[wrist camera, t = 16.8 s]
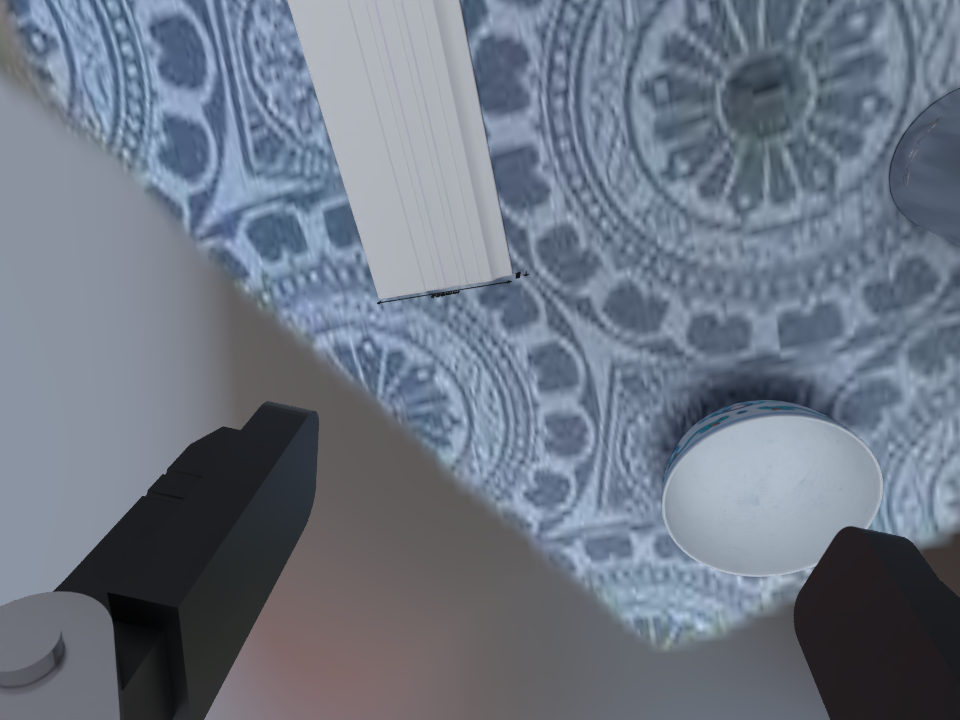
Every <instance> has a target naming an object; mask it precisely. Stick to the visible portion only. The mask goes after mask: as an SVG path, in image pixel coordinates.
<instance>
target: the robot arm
mask: <svg viewBox="0 0 960 720" xmlns="http://www.w3.org/2000/svg"><path fill="white" fill-rule="evenodd" d="M890 186H891V193H892V196H893V199H894V201H895V204H896V206H897V207H898V208H899V210H900V211H901V212H902V214H903V215H904V216H906V217H907V218H908V219H909V220H911V221H912V222H913V223H915V224H917V225H919V226H921V227H923V228H925V229H927V230H929V231H931V232H934V233H936V234H938V235H940V236H942V237H944V238H946V239H947V240H949V241H951V242H953V243H955V244H957V245H959V246H960V89H958V90H956V91H953V92H951V93H949V94H948V95H946V96H945V97H943V98H941V99H940V100H938V101H937V102H935V103H934V104H933V105H931V106H930V107H929V108H928V109H927V110H926V111H925V112H923V113H922V114H921V115H920V116H919V117H918V118H917V119H916V121H915V122H914V123H913V124H912V125H911V127H910V128H909V129H908V130H907V132H906V133H905V135H904V137H903V138H902V140H901V142H900V144H899V145H898V147H897V150H896V153H895V155H894V158H893V161H892V166H891V172H890ZM318 431H319V418H318V414H317V412H316V411H312V410H307V409H303V408H297V407H293V406H288V405H283V404H279V403H274V402H269V401H267V402H265V403H264V404H262V405H261V407H260V408H259V409H258V410H257V411H256V412H255V414H254V415H253V416H252V417H251V419H250V420H249V421H248V422H247V423H246V425H245V426H244V427H243V428H242V429H241V430H237V429H232V428H227V427H221V428H219V429H218V430H216V431H214V432H212V433H210V434H209V435H207V436H205V437H203V438H201V439H199V440H197V441H196V442H194V443H192V444H190V445H189V446H188V447H187V448H186V449H185V451H184V452H183V453H182V454H181V455H180V456H179V457H178V458H177V459H176V460H175V461H174V462H173V464H172V465H171V466H170V467H169V468H168V469H167V473H166V474H165V475H164V474H162V476H160V478H159V479H158V480H157V481H156V482H155V483H154V484H153V485H152V486H151V487H150V488H149V489H148V492H147V495H146V496H142V497H141V498H140V499H139V500H138V501H137V503H136V504H135V505H134V506H133V507H132V508H131V509H130V510H129V511H128V512H127V513H126V514H125V515H124V516H123V518H122V519H121V520H120V521H119V522H118V523H117V524H116V525H115V526H114V527H113V528H112V529H111V531H110V532H109V533H108V534H107V535H106V536H105V537H104V538H103V539H102V540H101V541H100V542H99V544H98V545H97V546H96V547H95V548H94V549H93V550H92V551H91V552H90V553H89V554H88V555H87V556H86V558H85V559H84V560H83V561H82V562H81V563H80V564H79V565H78V566H77V568H75V569H74V570H73V572H72V573H71V574H70V575H69V576H68V577H67V578H66V579H65V580H64V581H63V582H62V583H61V584H60V585H59V586H58V587H57V588H56V589H55V590H54V591H53V592H47V593H40V594H36V595H31V596H27V597H24V598H21V599H18V600H15V601H12V602H10V603H8V604H5V605H3V606H0V720H204V719H205V717H206V714H207V713H208V711H209V709H210V707H211V705H212V703H213V701H214V699H215V698H216V696H217V694H218V692H219V690H220V688H221V686H222V684H223V682H224V681H225V679H226V677H227V675H228V673H229V671H230V669H231V667H232V665H233V663H234V661H235V660H236V658H237V656H238V654H239V652H240V650H241V648H242V646H243V644H244V642H245V641H246V639H247V637H248V635H249V633H250V631H251V629H252V627H253V625H254V623H255V622H256V620H257V618H258V616H259V614H260V612H261V610H262V608H263V606H264V604H265V603H266V601H267V599H268V597H269V595H270V593H271V591H272V589H273V587H274V585H275V584H276V582H277V580H278V578H279V576H280V574H281V572H282V570H283V568H284V567H285V565H286V563H287V560H288V559H289V557H290V555H291V553H292V551H293V549H294V548H295V546H296V544H297V541H298V540H299V538H300V536H301V534H302V532H303V530H304V528H305V526H306V524H307V522H308V518H309V516H310V513H311V509H312V506H313V502H314V497H315V491H316V473H317V452H318ZM794 627H795V632H796V635H797V638H798V641H799V644H800V646H801V648H802V651H803V653H804V656H805V658H806V661H807V663H808V666H809V668H810V671H811V673H812V676H813V678H814V681H815V683H816V685H817V688H818V690H819V693H820V695H821V698H822V700H823V703H824V705H825V708H826V710H827V713H828V715H829V718H830V720H960V598H959V597H958V596H957V595H956V594H955V593H954V592H953V591H952V590H950V589H949V588H948V587H947V586H946V585H945V584H944V583H943V582H942V581H940V580H939V578H938V577H937V576H936V574H935V573H934V571H933V570H932V569H931V567H930V566H929V564H928V563H927V562H926V561H925V559H924V557H923V556H922V555H921V553H920V552H919V550H918V549H917V548H916V546H915V545H914V544H913V543H912V542H911V541H910V540H908V539H906V538H905V537H901V536H896V535H892V534H887V533H882V532H878V531H873V530H868V529H863V528H859V527H854V526H847V527H844V528H843V529H841V530H840V531H839V532H838V533H837V534H836V535H835V537H834V538H833V540H832V542H831V543H830V545H829V546H828V548H827V549H826V551H825V553H824V554H823V556H822V557H821V559H820V560H819V562H818V564H817V565H816V567H815V568H814V570H813V571H812V573H811V575H810V576H809V578H808V579H807V581H806V583H805V584H804V586H803V587H802V589H801V590H800V592H799V594H798V596H797V599H796V602H795V607H794Z"/></svg>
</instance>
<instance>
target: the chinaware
mask: <svg viewBox="0 0 960 720" xmlns="http://www.w3.org/2000/svg"><path fill="white" fill-rule="evenodd" d="M882 495H883V478H882V472H881V469H880V466H879V464H878V461H877V459H876V457H875V456H874V454H873V453H872V451H871V450H870V449H869V447H868V446H867V445H866V444H865V443H864V442H863V441H862V440H861V439H860V438H859V437H858V436H856V435H855V434H854V433H853V432H851V431H850V430H849V429H847V428H846V427H845V426H843V425H841V424H840V423H838V422H837V421H835V420H833V419H832V418H830V417H828V416H826V415H824V414H822V413H820V412H818V411H815V410H813V409H810V408H807V407H804V406H801V405H798V404H794V403H789V402H783V401H775V400H755V401H747V402H741V403H737V404H733V405H730V406H727V407H724V408H721V409H719V410H717V411H715V412H713V413H711V414H709V415H708V416H706V417H704V418H703V419H701V420H700V421H699V422H697V423H696V424H695V425H694V426H693V427H692V428H691V429H690V430H689V431H688V432H687V433H686V434H685V435H684V436H683V437H682V439H681V440H680V441H679V443H678V444H677V446H676V448H675V449H674V451H673V453H672V455H671V457H670V459H669V462H668V465H667V468H666V471H665V475H664V480H663V486H662V497H661V506H662V515H663V520H664V523H665V526H666V528H667V530H668V532H669V534H670V536H671V538H672V539H673V540H674V542H675V543H676V544H677V545H678V546H679V548H680V549H681V550H683V551H684V552H685V553H686V554H687V555H689V556H690V557H691V558H693V559H694V560H696V561H698V562H699V563H701V564H703V565H705V566H707V567H710V568H712V569H715V570H718V571H721V572H725V573H729V574H734V575H741V576H754V577H764V576H777V575H784V574H790V573H794V572H798V571H802V570H805V569H808V568H811V567H814V566H816V565H817V564H818V562H819V560H820V559H821V557H822V556H823V554H824V553H825V551H826V549H827V548H828V546H829V545H830V543H831V542H832V540H833V538H834V537H835V535H836V534H837V533H838V532H839V531H840V530H841V529H843V528H844V527H847V526H854V527H859V528H863V529H868V527H869V526H870V524H871V523H872V521H873V520H874V518H875V516H876V514H877V512H878V509H879V507H880V504H881V500H882Z"/></svg>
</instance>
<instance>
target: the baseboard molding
mask: <svg viewBox="0 0 960 720" xmlns="http://www.w3.org/2000/svg"><path fill="white" fill-rule="evenodd" d="M288 3H289V7H290V10H291V13H292V16H293V20H294V23H295V26H296V30H297V33H298V36H299V39H300V43H301V46H302V49H303V52H304V56H305V59H306V62H307V65H308V69H309V72H310V75H311V78H312V82H313V85H314V88H315V91H316V95H317V98H318V101H319V104H320V108H321V111H322V114H323V117H324V121H325V124H326V127H327V131H328V134H329V137H330V140H331V144H332V147H333V150H334V153H335V157H336V160H337V163H338V166H339V170H340V173H341V176H342V179H343V183H344V186H345V189H346V192H347V196H348V199H349V202H350V205H351V209H352V212H353V215H354V218H355V222H356V225H357V228H358V232H359V235H360V238H361V241H362V245H363V248H364V251H365V254H366V258H367V261H368V264H369V267H370V271H371V274H372V277H373V280H374V284H375V287H376V290H377V293H378V297H379V299H384V298H391V297H397V296H403V295H409V294H415V293H421V292H426V291H431V290H437V289H446V288H450V287H456V286H464V285H468V284H474V283H480V282H482V283H483V282H489V281H493V280H495V279H497V278H500V277H504V276H510V275H513V271H512V266H511V260H510V255H509V250H508V245H507V240H506V235H505V230H504V225H503V219H502V214H501V209H500V204H499V199H498V194H497V189H496V183H495V178H494V173H493V168H492V163H491V158H490V153H489V147H488V142H487V137H486V132H485V127H484V122H483V117H482V112H481V106H480V101H479V96H478V91H477V86H476V81H475V76H474V70H473V65H472V60H471V55H470V50H469V45H468V40H467V34H466V29H465V24H464V19H463V14H462V9H461V4H460V0H288ZM526 273H527V271H526ZM515 274H516V278H520V274H521V273H520V272H519V273H515ZM527 275H529V274H525V275H524V276H527ZM510 282H512V281H509V280H508V282H502V283H507V284H508V283H510ZM496 284H501V283H496ZM490 285H495V284H490ZM484 286H489V285H484ZM478 287H483V286H478ZM471 288H476V287H471ZM465 289H470V288H465ZM459 290H464V289H459ZM454 291H455V292H454ZM457 291H458V290H453V294H456V293H459V292H460V291H458V292H457ZM447 292H448V293H446V294H445V292H441V293H442V294H439V293H434V294H435V295H433V294H428V295H432V296H431V298H434V296H436V295H437V296H436V297H440V295H441V296H445V295H451V294H452V291H447ZM450 292H451V293H450ZM422 296H427V295H422ZM416 297H421V296H416ZM410 298H415V297H410ZM404 299H408V298H404ZM397 300H402V299H397ZM391 301H396V300H391ZM385 302H390V301H385ZM380 303H384V302H381V301H380V302H378V303H377V304H380Z"/></svg>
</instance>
